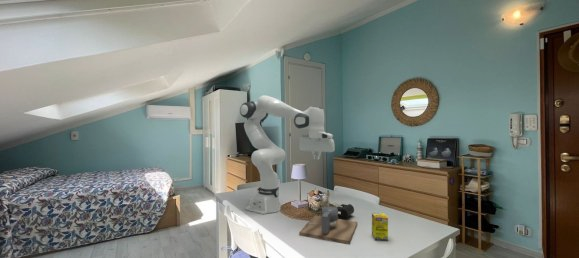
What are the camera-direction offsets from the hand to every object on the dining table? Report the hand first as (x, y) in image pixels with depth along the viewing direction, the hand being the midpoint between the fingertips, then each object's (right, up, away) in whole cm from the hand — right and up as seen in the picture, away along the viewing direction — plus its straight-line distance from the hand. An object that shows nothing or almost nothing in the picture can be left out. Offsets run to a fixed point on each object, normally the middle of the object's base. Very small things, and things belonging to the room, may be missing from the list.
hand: (316, 159), depth 139 cm
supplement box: (+27, -35, -22) cm, 49 cm away
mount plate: (+5, -34, -13) cm, 37 cm away
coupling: (+4, -32, -16) cm, 36 cm away
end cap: (+17, -34, +4) cm, 38 cm away
